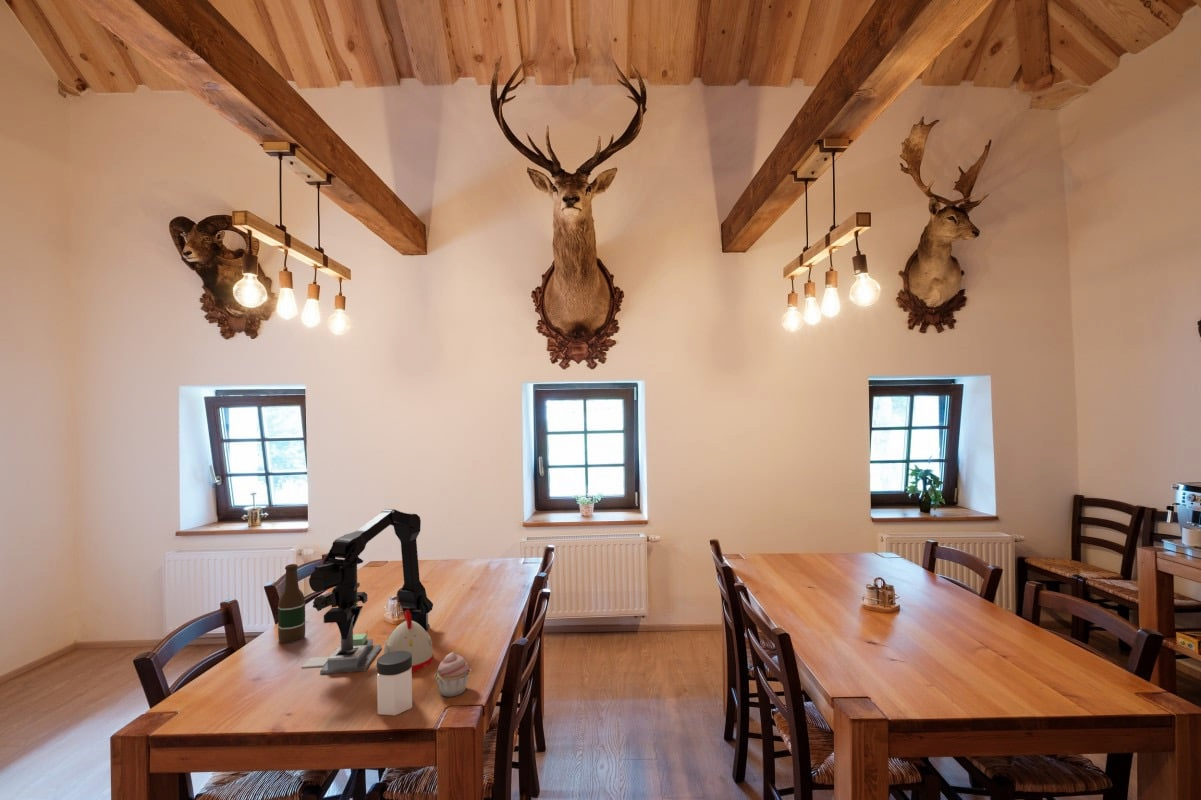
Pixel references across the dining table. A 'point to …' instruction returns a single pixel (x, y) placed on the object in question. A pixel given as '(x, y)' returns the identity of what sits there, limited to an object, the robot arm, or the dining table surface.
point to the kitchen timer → (411, 642)
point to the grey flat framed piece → (351, 659)
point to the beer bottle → (291, 609)
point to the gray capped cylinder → (348, 640)
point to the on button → (359, 639)
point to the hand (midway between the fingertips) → (346, 636)
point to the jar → (394, 683)
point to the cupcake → (452, 675)
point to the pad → (316, 662)
